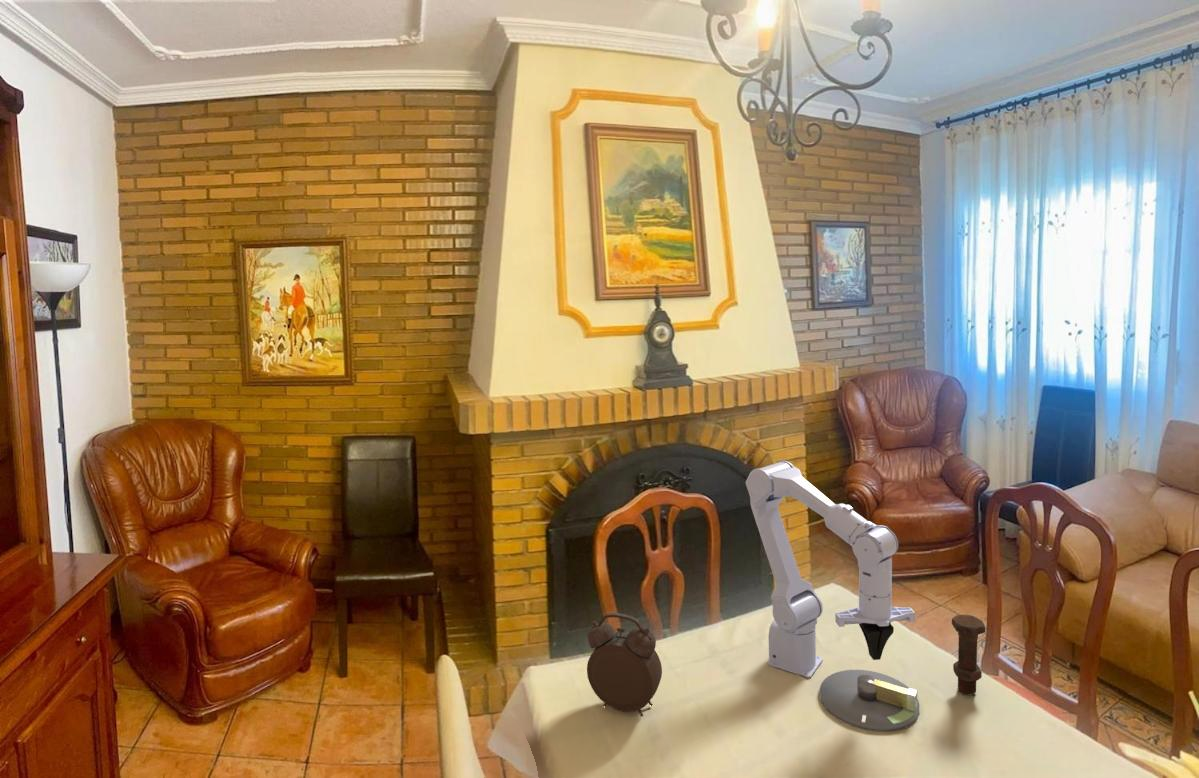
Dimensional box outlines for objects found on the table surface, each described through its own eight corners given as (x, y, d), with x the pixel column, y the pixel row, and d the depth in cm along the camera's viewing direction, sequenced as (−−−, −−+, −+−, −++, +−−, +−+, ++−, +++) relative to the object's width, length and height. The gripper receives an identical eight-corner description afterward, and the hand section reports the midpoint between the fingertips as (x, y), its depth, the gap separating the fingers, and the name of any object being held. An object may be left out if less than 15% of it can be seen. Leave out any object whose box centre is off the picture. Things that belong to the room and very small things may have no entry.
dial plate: (806, 709, 127) (806, 704, 127) (837, 664, 141) (837, 659, 141) (906, 744, 116) (906, 738, 116) (928, 692, 130) (929, 686, 130)
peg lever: (854, 696, 128) (854, 680, 128) (860, 686, 131) (860, 670, 131) (913, 715, 122) (913, 698, 121) (918, 704, 125) (918, 687, 124)
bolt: (986, 701, 126) (988, 629, 124) (957, 699, 127) (959, 627, 125) (975, 683, 132) (977, 613, 130) (948, 682, 133) (949, 612, 131)
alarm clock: (667, 703, 132) (662, 610, 129) (654, 726, 125) (649, 628, 122) (601, 689, 138) (595, 600, 135) (586, 710, 132) (579, 616, 129)
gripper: (845, 603, 120) (845, 671, 122) (923, 598, 120) (922, 666, 122) (831, 586, 127) (831, 650, 129) (905, 581, 127) (904, 645, 129)
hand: (874, 656), depth 126 cm, fingers closed
